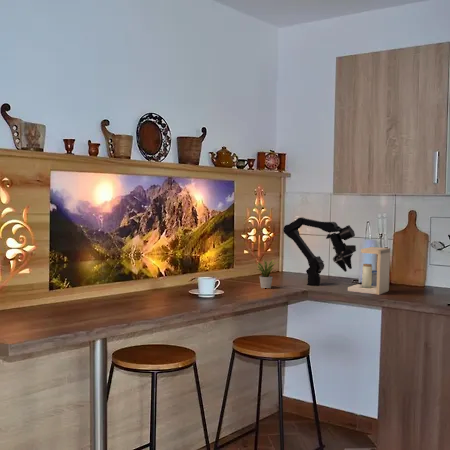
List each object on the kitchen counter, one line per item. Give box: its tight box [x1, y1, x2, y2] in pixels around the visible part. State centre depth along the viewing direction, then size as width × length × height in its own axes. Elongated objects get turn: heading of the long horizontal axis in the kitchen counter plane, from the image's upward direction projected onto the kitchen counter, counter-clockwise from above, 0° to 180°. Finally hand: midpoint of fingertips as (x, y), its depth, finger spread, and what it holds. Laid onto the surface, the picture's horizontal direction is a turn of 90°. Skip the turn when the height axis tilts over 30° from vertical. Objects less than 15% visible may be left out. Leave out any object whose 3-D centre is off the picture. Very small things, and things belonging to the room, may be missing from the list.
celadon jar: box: [361, 263, 373, 289], centre depth 351 cm, size 5×5×14 cm
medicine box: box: [371, 269, 377, 286], centre depth 373 cm, size 8×4×9 cm, turn 37°
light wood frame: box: [347, 246, 391, 296], centre depth 350 cm, size 18×16×23 cm
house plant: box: [256, 258, 278, 289], centre depth 353 cm, size 14×14×16 cm
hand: (348, 270), depth 357 cm, fingers open, 9 cm apart
